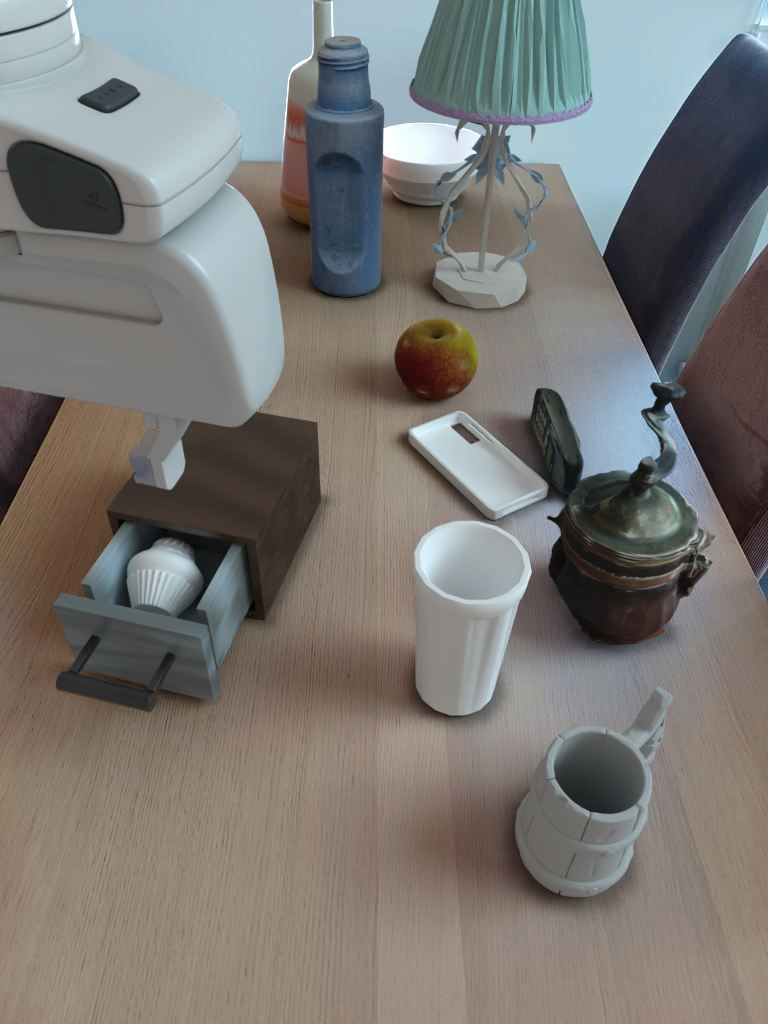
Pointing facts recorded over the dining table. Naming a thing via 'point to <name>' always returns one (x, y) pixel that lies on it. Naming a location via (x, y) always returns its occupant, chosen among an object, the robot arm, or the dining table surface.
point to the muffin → (164, 578)
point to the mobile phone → (557, 440)
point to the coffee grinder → (630, 543)
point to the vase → (302, 119)
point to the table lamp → (499, 114)
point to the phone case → (478, 465)
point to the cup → (465, 611)
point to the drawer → (153, 623)
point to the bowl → (425, 160)
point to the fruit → (436, 358)
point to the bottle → (345, 171)
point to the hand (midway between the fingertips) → (61, 458)
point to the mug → (590, 803)
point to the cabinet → (239, 494)
